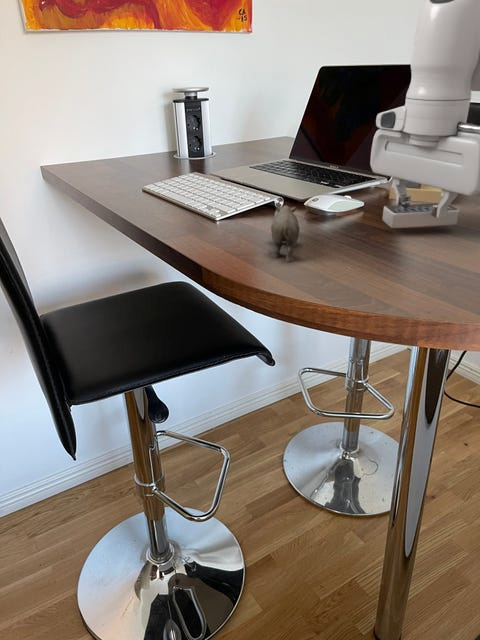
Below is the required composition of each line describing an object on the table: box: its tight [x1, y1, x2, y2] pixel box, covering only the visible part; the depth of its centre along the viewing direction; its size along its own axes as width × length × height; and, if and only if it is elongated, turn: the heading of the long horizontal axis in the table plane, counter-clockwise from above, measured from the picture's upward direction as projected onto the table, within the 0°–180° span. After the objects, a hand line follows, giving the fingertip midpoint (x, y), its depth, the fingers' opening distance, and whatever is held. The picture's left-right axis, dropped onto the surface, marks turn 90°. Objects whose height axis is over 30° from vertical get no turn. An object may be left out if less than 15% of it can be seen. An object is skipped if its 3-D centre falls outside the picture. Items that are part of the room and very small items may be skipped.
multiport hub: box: [381, 202, 460, 229], centre depth 80 cm, size 4×11×2 cm, turn 97°
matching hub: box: [405, 181, 421, 189], centre depth 103 cm, size 11×4×2 cm, turn 158°
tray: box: [388, 184, 444, 204], centre depth 102 cm, size 14×11×2 cm
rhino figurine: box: [270, 204, 300, 263], centre depth 75 cm, size 4×14×6 cm, turn 175°
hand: (419, 211), depth 80 cm, fingers closed on multiport hub, 6 cm apart
